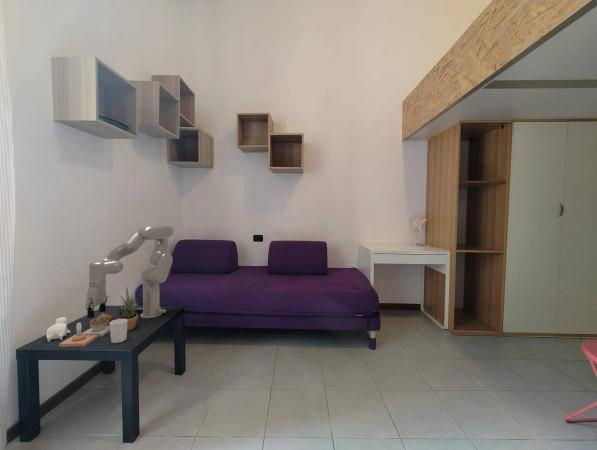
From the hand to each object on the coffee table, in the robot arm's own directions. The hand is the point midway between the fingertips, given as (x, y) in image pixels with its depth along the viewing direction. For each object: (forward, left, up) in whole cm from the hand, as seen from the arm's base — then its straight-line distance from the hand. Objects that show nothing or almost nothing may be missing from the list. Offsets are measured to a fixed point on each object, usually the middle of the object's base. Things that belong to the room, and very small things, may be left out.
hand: (96, 314), depth 153 cm
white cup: (-17, +10, -10) cm, 23 cm away
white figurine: (+17, +3, -10) cm, 21 cm away
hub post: (+2, +11, -10) cm, 15 cm away
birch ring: (0, -1, -6) cm, 6 cm away
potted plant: (-14, -5, -10) cm, 18 cm away
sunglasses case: (+7, -17, -11) cm, 21 cm away
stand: (0, -1, -10) cm, 10 cm away
